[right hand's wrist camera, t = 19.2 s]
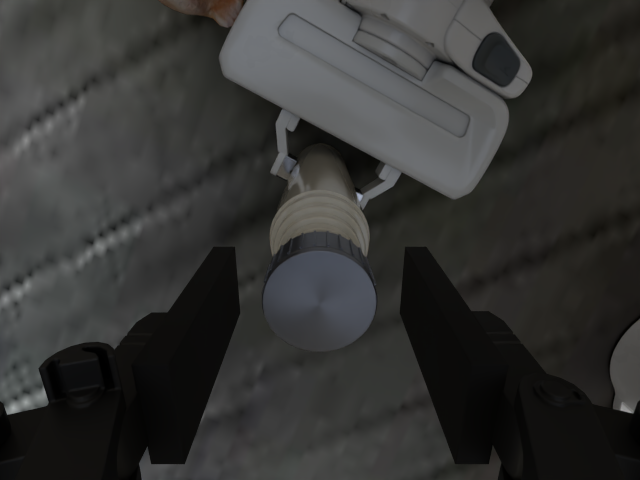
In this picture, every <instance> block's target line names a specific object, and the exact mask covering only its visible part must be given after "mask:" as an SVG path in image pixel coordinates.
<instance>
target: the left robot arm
mask: <svg viewBox="0 0 640 480" xmlns="http://www.w3.org/2000/svg"><path fill="white" fill-rule="evenodd" d="M493 1H494V0H342V1H341V3H340V0H247V1H246V3H245V4H244V6H243V8H242V9H241V11H240V13H239V15H238V16H237V18H236V20H235V22H234V24H233V26H232V28H231V30H230V32H229V34H228V36H227V38H226V40H225V42H224V44H223V47H222V49H221V52H220V55H219V62H220V66H221V70H222V73H223V75H224V77H225V78H227V79H229V80H231V81H232V82H234V83H236V84H238V85H240V86H242V87H244V88H246V89H247V90H249V91H251V92H253V93H255V94H257V95H259V96H260V97H262V98H264V99H266V100H268V101H270V102H272V103H274V104H275V105H277V106H279V107H281V108H282V111H281V113H280V115H279V117H278V119H277V122H276V134H277V146H278V151H279V154H278V156H277V158H276V160H275V162H274V165H273V167H272V169H271V171H270V173H271V174H273V175H275V176H277V177H279V178H281V179H284V180H286V181H288V179H289V176H290V174H291V171H292V170H293V168H294V167H295V165H296V163H297V160H298V157H296V156H294V155H292V154H290V153H289V140H288V130H289V131H291V132H292V131H294V130H295V129H296V127H297V125H298V123H299V121H300V119H301V118H302V119H303V120H305V121H307V122H309V123H311V124H313V125H315V126H316V127H318V128H320V129H322V130H324V131H326V132H328V133H330V134H331V135H333V136H335V137H337V138H339V139H341V140H343V141H344V142H346V143H348V144H350V145H352V146H354V147H356V148H358V149H359V150H361V151H363V152H365V153H367V154H369V155H371V156H372V157H374V158H376V159H378V160H380V163H379V165H378V167H377V168H376V170H375V172H376V174H377V175H378V178H377V179H375V180H373V181H372V182H370V183H369V184H367V185H366V186H364V187H363V188H361V189H358V188H356V187H354V188H355V191H356V193H357V196H358V199H359V201H360V204H361V207H362V209H364V207H365V206H366V204H367V202H368V200H369V199H372V198H374V197H376V196H377V195H379V194H381V193H382V192H384V191H386V190H388V189H389V188H391V187H393V186H394V185H395V183H396V181H397V180H398V178H399V176H400V175H401V173H404V174H406V175H408V176H410V177H412V178H413V179H415V180H417V181H419V182H421V183H423V184H425V185H427V186H428V187H430V188H432V189H434V190H436V191H438V192H440V193H441V194H443V195H445V196H447V197H449V198H451V199H458V198H460V197H463V196H465V195H467V194H469V193H470V192H472V190H473V189H474V188H475V187H476V185H477V184H478V182H479V181H480V179H481V178H482V176H483V174H484V173H485V171H486V170H487V168H488V166H489V164H490V163H491V161H492V159H493V157H494V155H495V153H496V152H497V150H498V148H499V146H500V144H501V142H502V140H503V137H504V135H505V133H506V130H507V127H508V122H509V111H508V107H507V105H506V103H505V101H504V100H503V99H511V98H516V97H518V96H519V95H520V94H521V93H522V92H523V91H524V90H525V88H526V87H527V86H528V84H529V82H530V80H531V78H532V69H531V67H530V65H529V64H528V62H527V61H526V59H525V58H524V57H523V55H522V54H521V53H520V51H519V50H518V49H517V47H516V46H515V45H514V43H513V42H512V41H511V39H510V38H509V37H508V35H507V34H506V32H505V31H504V30H503V28H502V27H501V25H500V24H499V22H498V21H497V19H496V18H495V16H494V15H493V13H492V11H491V10H490V8H489V7H490V6H491V4H492V2H493ZM610 377H611V381H612V384H613V386H614V389H615V398H614V403H613V409H615V410H620V411H624V412H629V413H634V411H635V408H636V405H637V402H638V401H639V400H640V319H639V320H638V321H637V322H636V323H634V324H633V325H632V326H631V327H630V328H629V329H628V330H627V331H626V333H625V334H624V335H623V336H622V338H621V339H620V341H619V342H618V344H617V346H616V348H615V350H614V352H613V355H612V358H611V362H610Z"/></svg>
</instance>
